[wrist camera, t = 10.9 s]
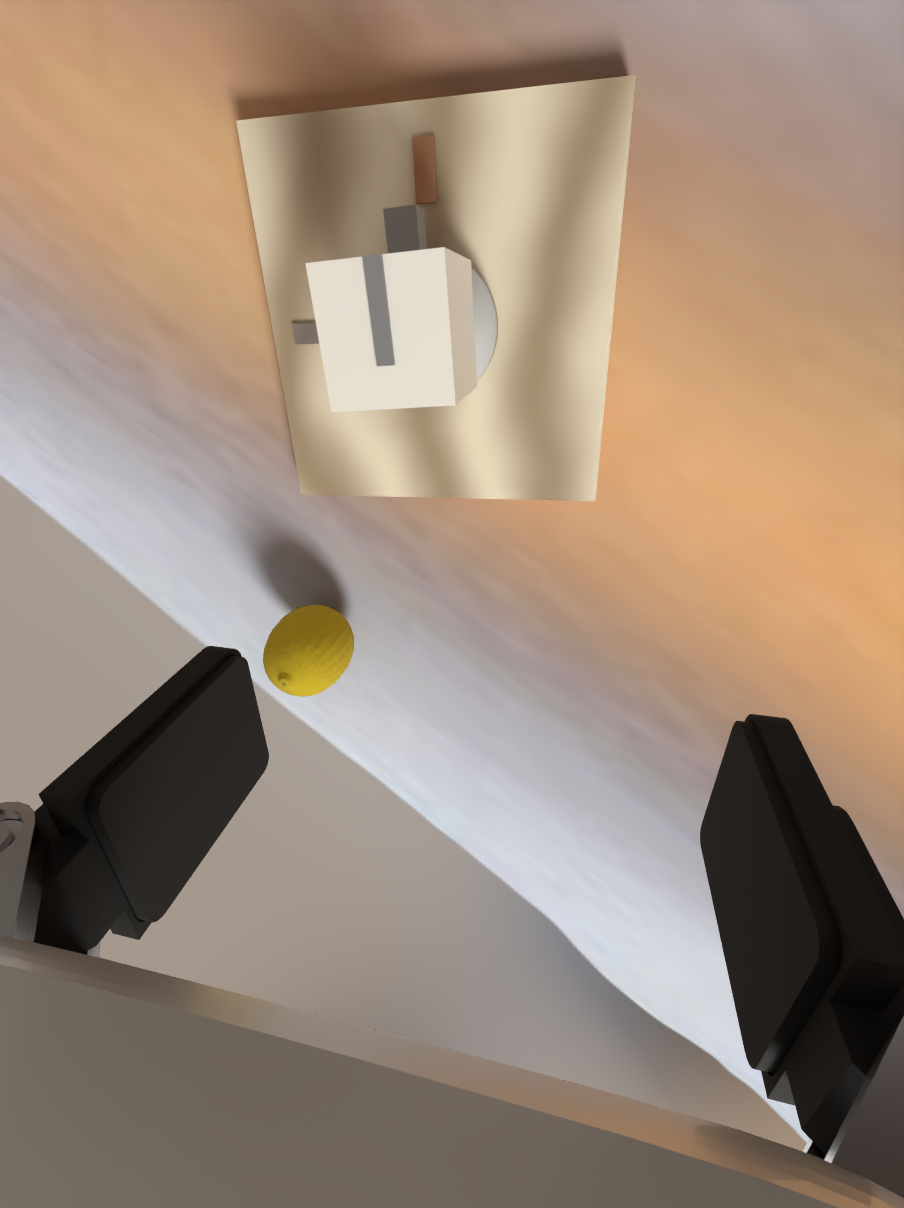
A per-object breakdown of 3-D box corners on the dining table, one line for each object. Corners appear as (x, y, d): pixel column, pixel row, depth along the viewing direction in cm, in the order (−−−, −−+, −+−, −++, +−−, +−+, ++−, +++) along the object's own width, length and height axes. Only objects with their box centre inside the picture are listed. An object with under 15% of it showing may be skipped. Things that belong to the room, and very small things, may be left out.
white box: (477, 386, 26) (454, 406, 21) (376, 392, 27) (330, 412, 22) (467, 204, 23) (438, 173, 17) (352, 220, 24) (291, 194, 18)
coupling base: (632, 87, 23) (643, 49, 20) (594, 493, 32) (597, 515, 28) (252, 130, 26) (205, 102, 23) (311, 487, 35) (283, 506, 32)
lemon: (285, 595, 40) (225, 656, 33) (349, 578, 38) (301, 638, 31) (317, 656, 42) (268, 725, 35) (380, 642, 40) (341, 712, 33)
